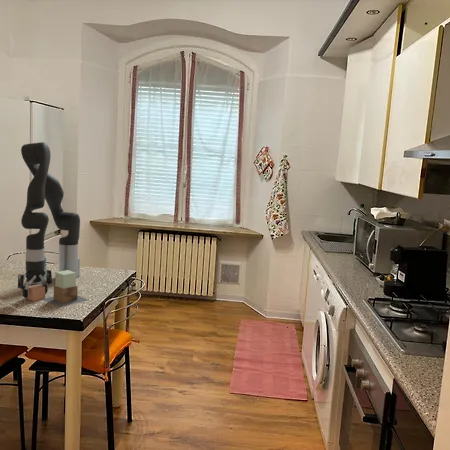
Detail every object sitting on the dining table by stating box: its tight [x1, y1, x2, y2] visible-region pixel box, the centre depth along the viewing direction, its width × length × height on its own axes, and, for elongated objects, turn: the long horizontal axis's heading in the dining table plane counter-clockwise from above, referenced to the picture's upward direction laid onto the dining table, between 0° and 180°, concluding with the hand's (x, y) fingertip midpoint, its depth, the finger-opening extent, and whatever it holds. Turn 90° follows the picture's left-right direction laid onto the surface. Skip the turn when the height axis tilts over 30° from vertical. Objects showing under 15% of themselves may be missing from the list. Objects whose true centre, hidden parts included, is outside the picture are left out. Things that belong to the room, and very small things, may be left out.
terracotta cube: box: [26, 285, 46, 302], centre depth 199 cm, size 6×6×6 cm
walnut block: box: [53, 285, 78, 303], centre depth 199 cm, size 7×7×6 cm
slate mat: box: [41, 295, 89, 308], centre depth 200 cm, size 14×14×1 cm
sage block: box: [54, 270, 77, 289], centre depth 198 cm, size 6×6×6 cm
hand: (35, 295), depth 199 cm, fingers open, 8 cm apart
